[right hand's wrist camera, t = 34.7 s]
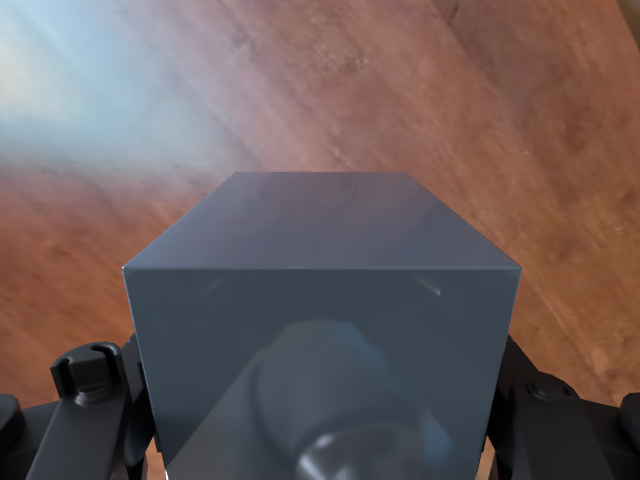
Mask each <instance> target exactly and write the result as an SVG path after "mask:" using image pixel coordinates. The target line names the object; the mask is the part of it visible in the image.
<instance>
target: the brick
mask: <svg viewBox="0 0 640 480" xmlns="http://www.w3.org/2000/svg"><path fill="white" fill-rule="evenodd" d="M521 272H522V267H521V266H520V265H519V264H517V263H516V262H515V261H514V260H513V259H511V258H510V257H509V256H508V255H506V254H505V253H504V252H503V251H502V250H500V249H499V248H498V247H497V246H495V245H494V244H493V243H492V242H491V241H489V240H488V239H487V238H486V237H485V236H483V235H482V234H481V233H480V232H478V231H477V230H476V229H475V228H474V227H472V226H471V225H470V224H469V223H467V222H466V221H465V220H464V219H463V218H461V217H460V216H459V215H458V214H456V213H455V212H454V211H453V210H452V209H450V208H449V207H448V206H447V205H446V204H444V203H443V202H442V201H441V200H439V199H438V198H437V197H436V196H435V195H433V194H432V193H431V192H430V191H428V190H427V189H426V188H425V187H424V186H422V185H421V184H420V183H419V182H417V181H416V180H415V179H414V178H413V177H411V176H410V175H409V174H408V173H407V172H235V173H234V174H233V175H232V176H230V177H229V178H228V179H227V180H226V181H224V182H223V183H222V184H221V185H220V186H218V187H217V188H216V189H215V190H214V191H212V192H211V193H210V194H209V195H208V196H206V197H205V198H204V199H203V200H202V201H201V202H199V203H198V204H197V205H196V206H195V207H193V208H192V209H191V210H190V211H189V212H187V213H186V214H185V215H184V216H183V217H181V218H180V219H179V220H178V221H177V222H175V223H174V224H173V225H172V226H171V227H169V228H168V229H167V230H166V231H165V232H163V233H162V234H161V235H160V236H159V237H157V238H156V239H155V240H154V241H153V242H151V243H150V244H149V245H148V246H147V247H145V248H144V249H143V250H142V251H141V252H139V253H138V254H137V255H136V256H135V257H134V258H132V259H131V260H130V261H129V262H128V263H126V264H125V265H124V266H123V267H122V273H123V278H124V283H125V287H126V292H127V296H128V301H129V306H130V310H131V315H132V319H133V324H134V329H135V333H136V338H137V342H138V347H139V352H140V356H141V361H142V365H143V370H144V375H145V379H146V384H147V388H148V393H149V398H150V402H151V407H152V411H153V416H154V421H155V425H156V430H157V434H158V439H159V444H160V448H161V453H162V457H163V462H164V467H165V471H166V476H167V480H476V476H477V471H478V467H479V462H480V458H481V453H482V449H483V444H484V440H485V435H486V431H487V426H488V422H489V417H490V412H491V408H492V403H493V399H494V394H495V390H496V385H497V381H498V376H499V372H500V367H501V363H502V358H503V354H504V349H505V344H506V340H507V335H508V331H509V326H510V322H511V317H512V313H513V308H514V304H515V299H516V295H517V290H518V286H519V281H520V277H521Z"/></svg>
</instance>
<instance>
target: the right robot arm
mask: <svg viewBox="0 0 640 480" xmlns="http://www.w3.org/2000/svg"><path fill="white" fill-rule="evenodd" d="M50 370H51V373H52V376H53V379H54V382H55V385H56V388H57V391H58V394H59V397H60V400H59V401H56V402H52V403H47V404H43V405H39V406H34V407H30V408H25V409H21V407H20V404H19V402H18V399H17V398H15V397H14V396H13V395H8V394H0V480H146V479H147V470H148V464H147V458H146V454H145V452H146V450H147V448H148V446H149V444H150V442H151V440H152V438H153V436H154V440H155V445H156V449H157V452H161V448H160V444H159V439H158V434H157V430H156V425H155V421H154V416H153V411H152V407H151V402H150V398H149V393H148V388H147V384H146V379H145V375H144V370H143V365H142V361H141V356H140V352H139V347H138V342H137V338H136V333H133V334H132V336H131V337H130V338H129V339H128V342H126V343H125V344H124V346H123V347H122V348H121V349H120V347H118V346H117V345H116V344H115V343H110V342H93V343H90V344H86V345H82V346H79V347H77V348H75V349H73V350H70V351H68V352H66V353H65V354H64V355H62V356H61V357H59V358H58V359H56V361H55V362H54V363H53V364H52V366H51V367H50ZM487 435H488V437H489V439H490V441H491V443H492V445H493V447H494V449H495V454H494V458H493V462H492V466H491V470H490V475H489V479H488V480H640V392H638V393H629V394H628V395H626V396H625V397H624V398H623V400H622V403H621V405H620V408H617V407H613V406H608V405H604V404H600V403H595V402H591V401H587V400H583V399H580V397H579V396H578V395H577V393H576V392H575V390H574V389H573V388H572V387H570V386H569V385H568V384H567V383H565V382H564V381H562V380H560V379H558V378H557V377H555V376H553V375H550V374H547V373H544V372H540V371H538V370H537V368H536V367H535V366H534V365H533V364H532V362H531V361H530V360H529V359H528V357H527V356H526V355H525V354H524V352H523V351H522V350H521V349H520V347H519V346H518V345H517V344H516V342H515V341H513V340H512V338H511V336H510V335H509V334H508V335H507V340H506V344H505V349H504V354H503V358H502V363H501V367H500V372H499V376H498V381H497V385H496V390H495V394H494V399H493V403H492V408H491V412H490V417H489V422H488V426H487V431H486V435H485V440H484V444H483V449H482V452H483V450H484V446H485V442H486V437H487Z"/></svg>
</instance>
